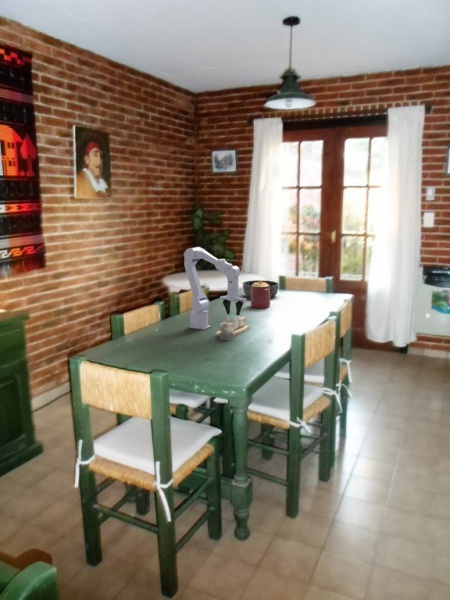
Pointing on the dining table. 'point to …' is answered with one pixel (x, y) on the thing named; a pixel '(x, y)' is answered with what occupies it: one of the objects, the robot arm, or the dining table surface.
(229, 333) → the box
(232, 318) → the block
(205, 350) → the dining table surface
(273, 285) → the bundt pan
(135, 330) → the dining table surface
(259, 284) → the canister
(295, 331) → the dining table surface
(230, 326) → the board
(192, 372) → the dining table surface
